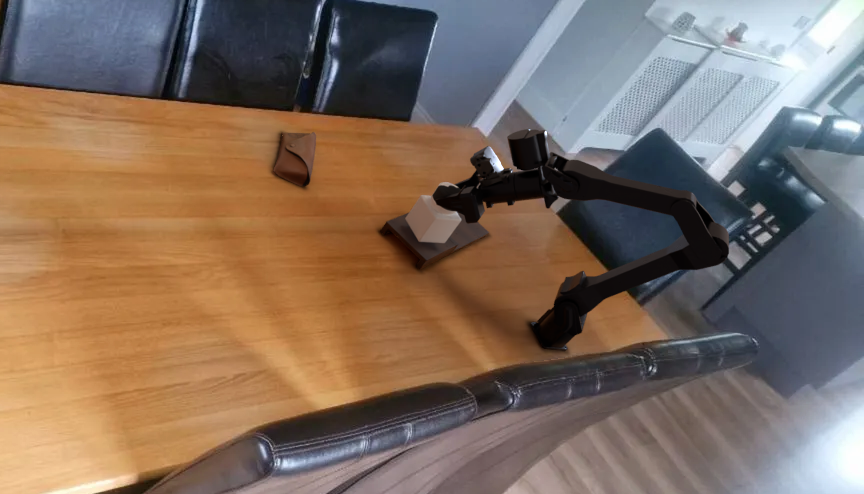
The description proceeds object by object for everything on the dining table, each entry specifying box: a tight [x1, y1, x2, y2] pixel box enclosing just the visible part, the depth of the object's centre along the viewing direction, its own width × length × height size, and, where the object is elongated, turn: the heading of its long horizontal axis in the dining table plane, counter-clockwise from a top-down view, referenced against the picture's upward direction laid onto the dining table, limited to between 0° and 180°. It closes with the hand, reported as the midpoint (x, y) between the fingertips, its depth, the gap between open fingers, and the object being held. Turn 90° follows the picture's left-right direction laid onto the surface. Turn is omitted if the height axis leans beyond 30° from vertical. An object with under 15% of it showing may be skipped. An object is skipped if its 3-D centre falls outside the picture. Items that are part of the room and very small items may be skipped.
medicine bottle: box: [405, 181, 461, 243], centre depth 146 cm, size 7×7×12 cm
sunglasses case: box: [272, 131, 317, 188], centre depth 158 cm, size 18×7×7 cm, turn 173°
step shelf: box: [379, 212, 490, 270], centre depth 158 cm, size 30×12×3 cm, turn 135°
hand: (440, 196), depth 145 cm, fingers closed on medicine bottle, 6 cm apart
